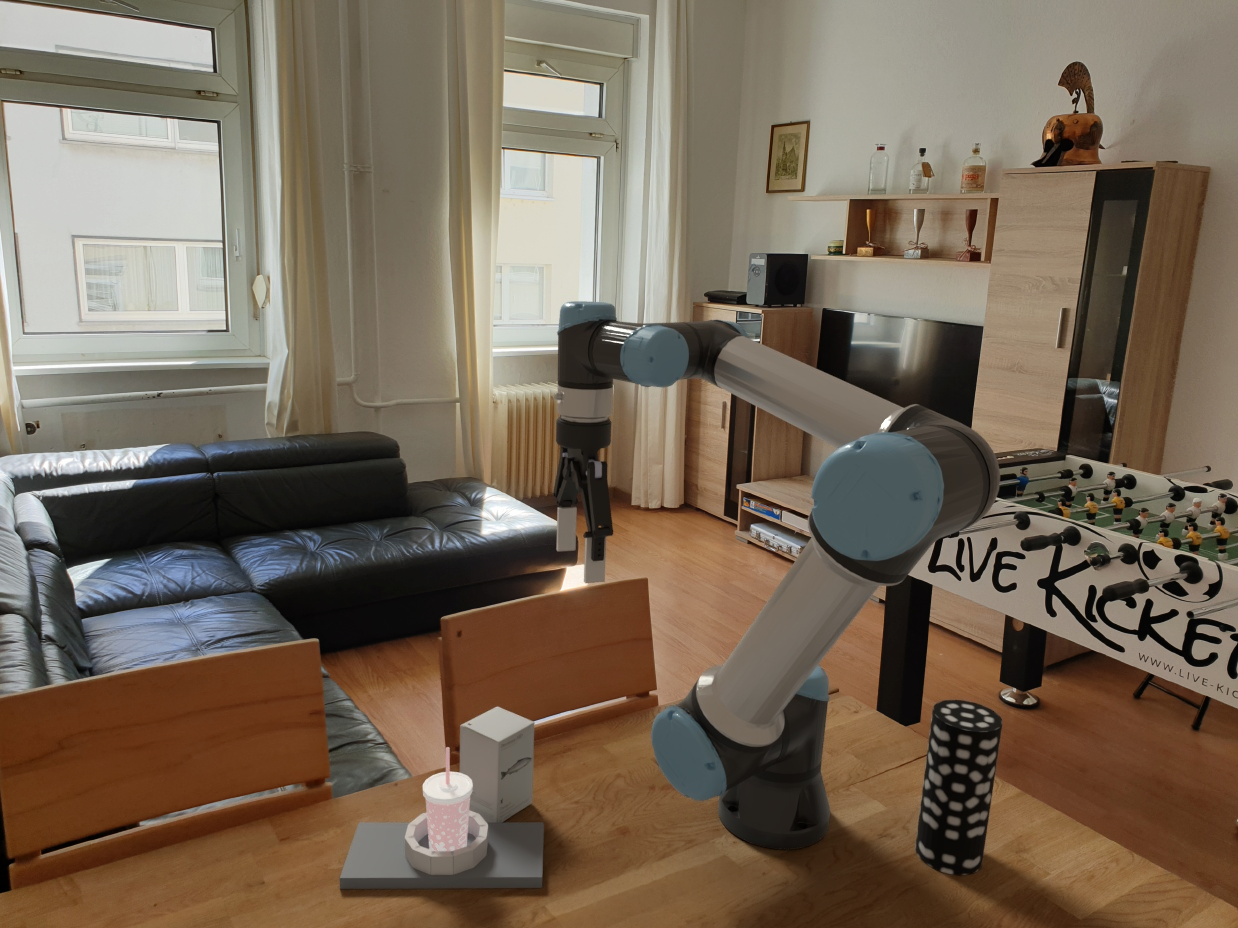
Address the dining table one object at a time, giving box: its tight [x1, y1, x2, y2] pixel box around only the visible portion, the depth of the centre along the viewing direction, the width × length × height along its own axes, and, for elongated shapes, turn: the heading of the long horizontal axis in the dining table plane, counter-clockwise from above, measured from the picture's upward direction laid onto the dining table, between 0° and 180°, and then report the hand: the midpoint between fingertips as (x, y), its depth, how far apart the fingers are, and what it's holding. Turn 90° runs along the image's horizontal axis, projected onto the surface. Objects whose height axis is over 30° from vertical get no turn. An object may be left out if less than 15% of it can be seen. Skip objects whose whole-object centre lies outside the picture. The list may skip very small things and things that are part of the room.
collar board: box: [339, 810, 545, 890], centre depth 118 cm, size 24×11×4 cm, turn 93°
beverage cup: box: [422, 746, 473, 851], centre depth 116 cm, size 6×6×14 cm
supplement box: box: [459, 706, 535, 822], centre depth 129 cm, size 7×7×13 cm
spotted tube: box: [914, 699, 1004, 876], centre depth 121 cm, size 8×8×20 cm
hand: (579, 565), depth 133 cm, fingers open, 13 cm apart
